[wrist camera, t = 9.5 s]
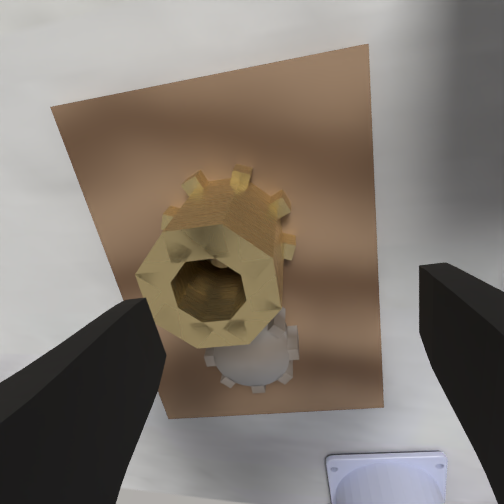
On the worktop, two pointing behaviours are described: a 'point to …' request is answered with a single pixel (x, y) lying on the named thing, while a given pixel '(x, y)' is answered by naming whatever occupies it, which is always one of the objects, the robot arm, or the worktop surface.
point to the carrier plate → (295, 223)
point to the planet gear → (226, 251)
